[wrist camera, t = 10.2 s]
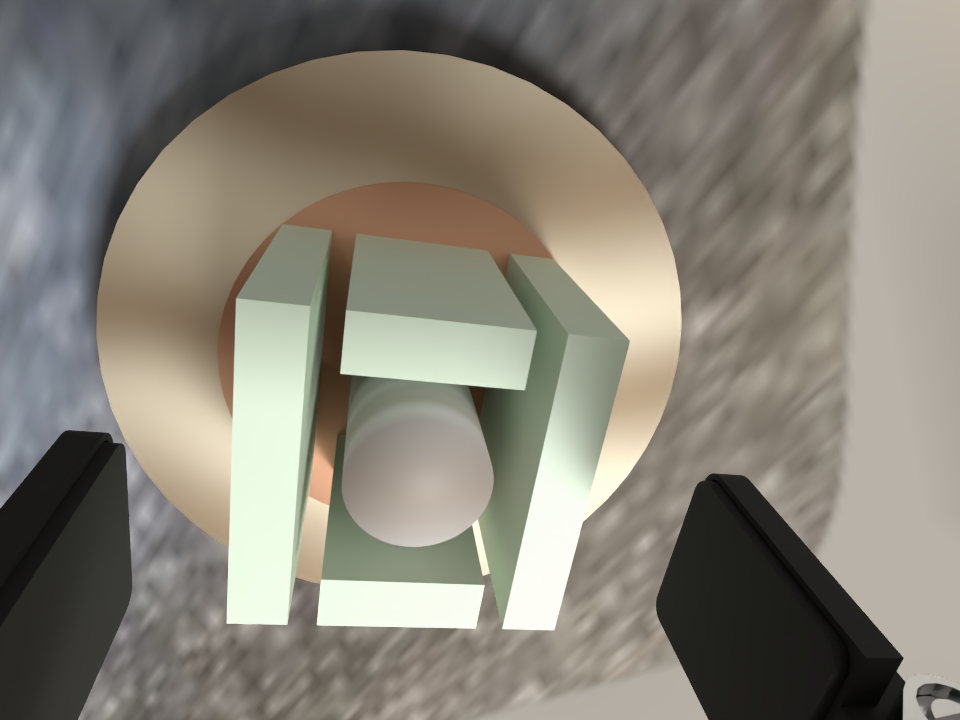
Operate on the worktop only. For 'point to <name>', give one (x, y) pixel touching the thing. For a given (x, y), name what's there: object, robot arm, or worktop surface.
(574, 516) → the collar
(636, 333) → the post base
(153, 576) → the worktop surface
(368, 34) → the worktop surface
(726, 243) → the worktop surface
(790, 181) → the worktop surface
